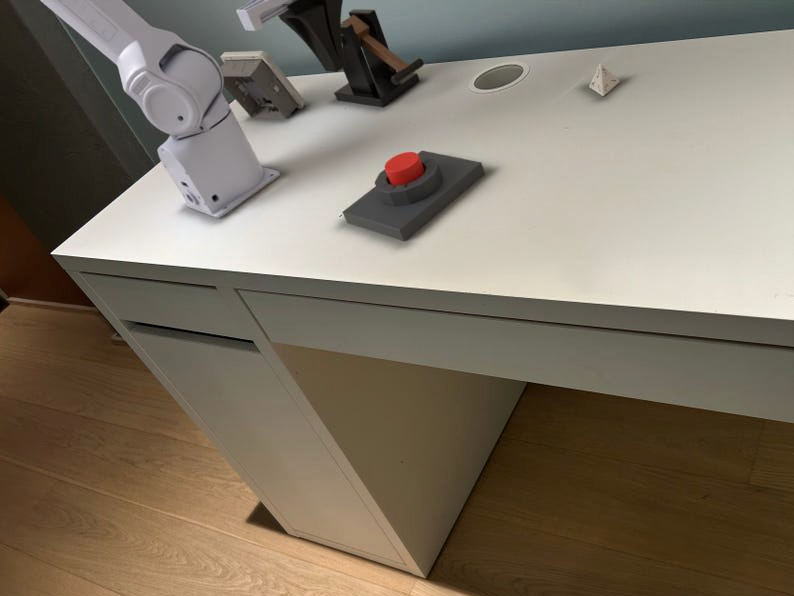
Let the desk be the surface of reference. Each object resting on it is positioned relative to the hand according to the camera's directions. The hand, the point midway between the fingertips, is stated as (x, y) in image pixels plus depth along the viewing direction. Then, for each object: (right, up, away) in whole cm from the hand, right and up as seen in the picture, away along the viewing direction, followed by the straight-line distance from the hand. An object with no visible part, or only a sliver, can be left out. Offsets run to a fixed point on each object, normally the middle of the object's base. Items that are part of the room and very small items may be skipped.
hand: (335, 68), depth 77 cm
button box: (+9, -15, -3) cm, 17 cm away
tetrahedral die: (+29, -1, +3) cm, 29 cm away
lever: (+2, +8, +15) cm, 17 cm away
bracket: (+2, +5, +20) cm, 21 cm away
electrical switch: (-13, +3, +25) cm, 28 cm away
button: (+8, -13, -5) cm, 16 cm away
